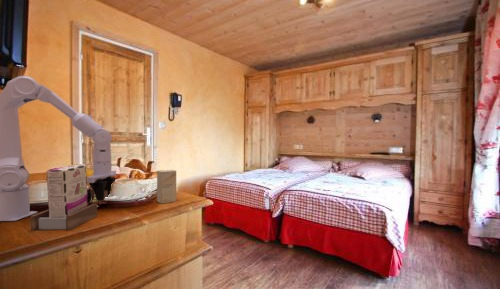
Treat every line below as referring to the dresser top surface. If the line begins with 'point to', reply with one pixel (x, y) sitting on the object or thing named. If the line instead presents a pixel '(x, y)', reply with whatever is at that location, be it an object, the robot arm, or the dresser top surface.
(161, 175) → the skincare box
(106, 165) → the robot arm
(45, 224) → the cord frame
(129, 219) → the dresser top surface
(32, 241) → the dresser top surface
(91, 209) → the shelf lane
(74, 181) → the candy bar box
